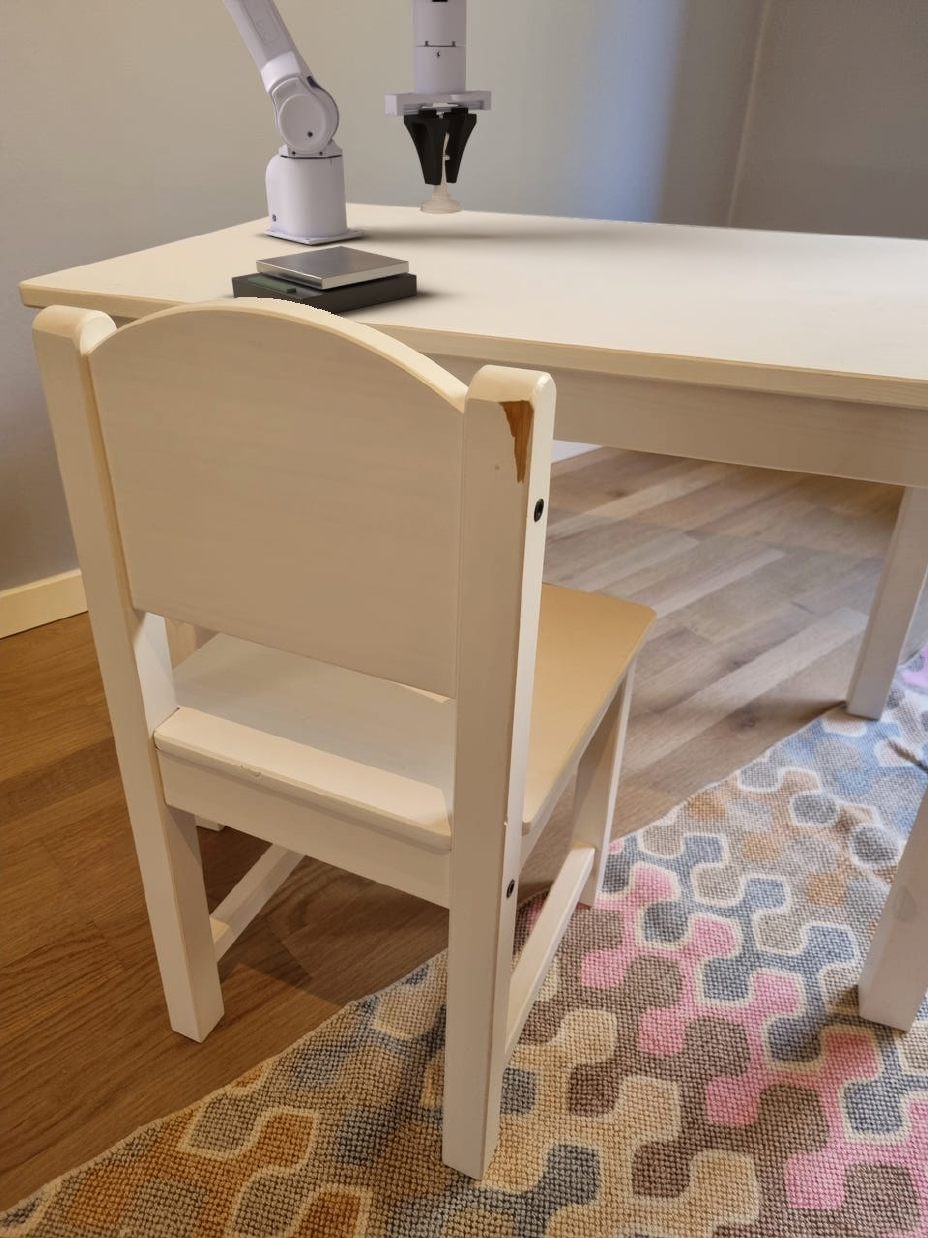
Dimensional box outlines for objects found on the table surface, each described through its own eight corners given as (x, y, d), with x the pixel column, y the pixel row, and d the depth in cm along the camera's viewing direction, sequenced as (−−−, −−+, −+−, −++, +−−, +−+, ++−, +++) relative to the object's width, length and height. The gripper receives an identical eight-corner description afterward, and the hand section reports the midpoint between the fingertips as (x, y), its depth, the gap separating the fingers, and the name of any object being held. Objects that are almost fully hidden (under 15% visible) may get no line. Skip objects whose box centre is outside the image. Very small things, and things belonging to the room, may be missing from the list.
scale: (233, 297, 85) (230, 273, 84) (344, 275, 93) (342, 253, 92) (304, 320, 79) (302, 294, 77) (417, 294, 86) (416, 271, 85)
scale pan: (256, 271, 85) (255, 260, 85) (342, 256, 91) (341, 245, 91) (322, 290, 79) (321, 278, 79) (409, 272, 85) (409, 261, 85)
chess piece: (456, 214, 107) (457, 116, 101) (415, 212, 108) (413, 115, 102) (465, 207, 111) (466, 113, 105) (425, 206, 112) (424, 112, 106)
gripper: (414, 46, 94) (417, 193, 101) (512, 46, 102) (508, 181, 109) (370, 45, 98) (375, 186, 105) (467, 45, 106) (466, 175, 114)
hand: (440, 183), depth 108 cm, fingers closed on chess piece
